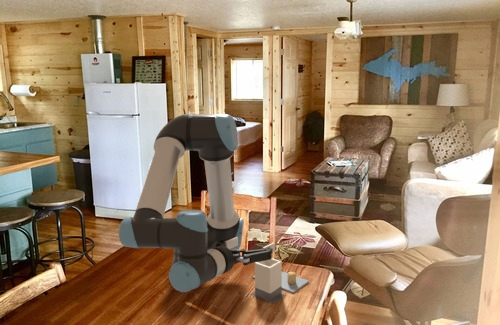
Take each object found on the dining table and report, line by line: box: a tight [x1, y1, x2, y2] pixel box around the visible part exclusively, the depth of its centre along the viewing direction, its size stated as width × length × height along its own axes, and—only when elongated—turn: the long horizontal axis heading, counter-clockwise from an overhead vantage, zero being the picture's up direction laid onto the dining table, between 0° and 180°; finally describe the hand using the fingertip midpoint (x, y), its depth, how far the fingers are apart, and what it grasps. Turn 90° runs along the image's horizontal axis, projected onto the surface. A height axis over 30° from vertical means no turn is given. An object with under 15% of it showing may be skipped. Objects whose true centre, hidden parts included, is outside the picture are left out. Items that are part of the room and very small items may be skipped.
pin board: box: [252, 271, 310, 294], centre depth 151 cm, size 18×10×5 cm, turn 50°
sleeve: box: [254, 258, 283, 303], centre depth 140 cm, size 6×6×12 cm
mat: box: [250, 291, 287, 305], centre depth 141 cm, size 10×7×1 cm
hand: (255, 244), depth 132 cm, fingers open, 13 cm apart
